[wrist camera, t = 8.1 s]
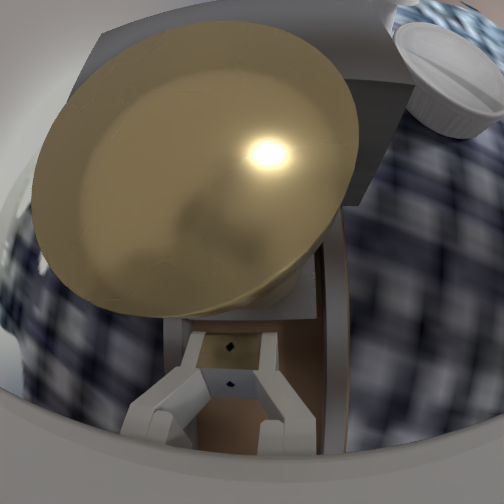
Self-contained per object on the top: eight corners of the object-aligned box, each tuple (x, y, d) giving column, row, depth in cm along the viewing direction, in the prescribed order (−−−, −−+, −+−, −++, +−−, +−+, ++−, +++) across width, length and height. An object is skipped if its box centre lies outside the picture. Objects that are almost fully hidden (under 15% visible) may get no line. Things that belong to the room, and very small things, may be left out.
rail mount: (179, 151, 21) (101, 33, 10) (340, 140, 20) (365, -4, 8) (178, 496, 15) (95, 592, 4) (347, 502, 14) (379, 623, 2)
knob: (203, 215, 17) (79, 60, 5) (308, 209, 16) (323, 11, 5) (201, 319, 16) (12, 303, 4) (313, 318, 15) (386, 312, 3)
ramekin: (401, 147, 19) (423, 103, 14) (366, 54, 22) (374, 12, 17) (502, 157, 18) (532, 126, 13) (460, 69, 20) (476, 36, 15)
